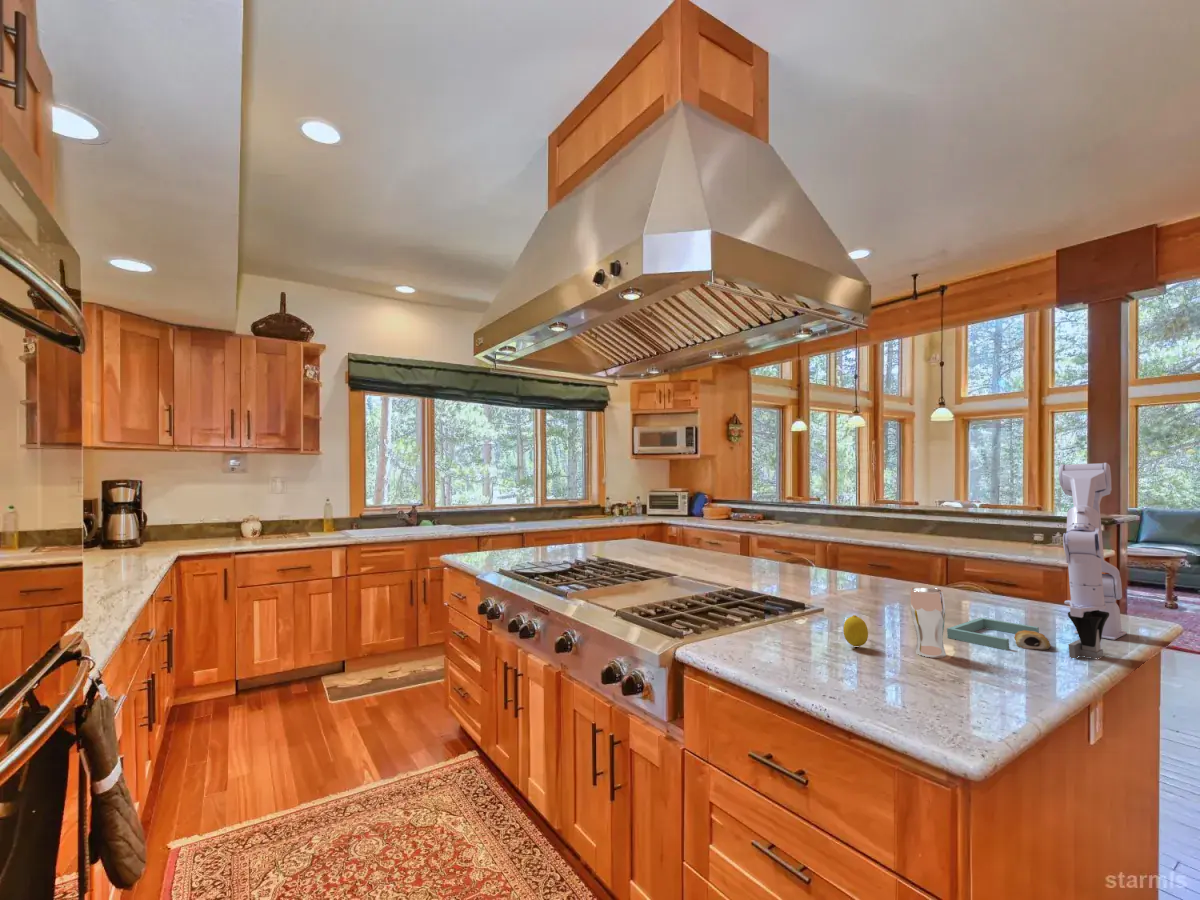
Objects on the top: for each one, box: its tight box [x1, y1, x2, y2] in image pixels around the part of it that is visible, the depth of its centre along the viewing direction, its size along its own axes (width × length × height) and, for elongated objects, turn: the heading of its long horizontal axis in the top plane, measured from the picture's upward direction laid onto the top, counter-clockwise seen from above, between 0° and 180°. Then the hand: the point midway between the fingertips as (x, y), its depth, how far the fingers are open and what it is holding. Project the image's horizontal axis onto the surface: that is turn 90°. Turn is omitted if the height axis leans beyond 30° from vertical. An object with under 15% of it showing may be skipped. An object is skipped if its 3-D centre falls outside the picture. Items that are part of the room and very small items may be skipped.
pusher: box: [1068, 629, 1105, 660], centre depth 124 cm, size 10×4×6 cm, turn 122°
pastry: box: [1013, 630, 1051, 651], centre depth 134 cm, size 9×7×4 cm
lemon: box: [842, 614, 869, 647], centre depth 135 cm, size 6×6×8 cm
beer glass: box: [910, 586, 947, 659], centre depth 129 cm, size 7×7×15 cm
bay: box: [946, 617, 1040, 651], centre depth 140 cm, size 18×13×2 cm
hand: (1091, 644), depth 124 cm, fingers closed on pusher, 2 cm apart
